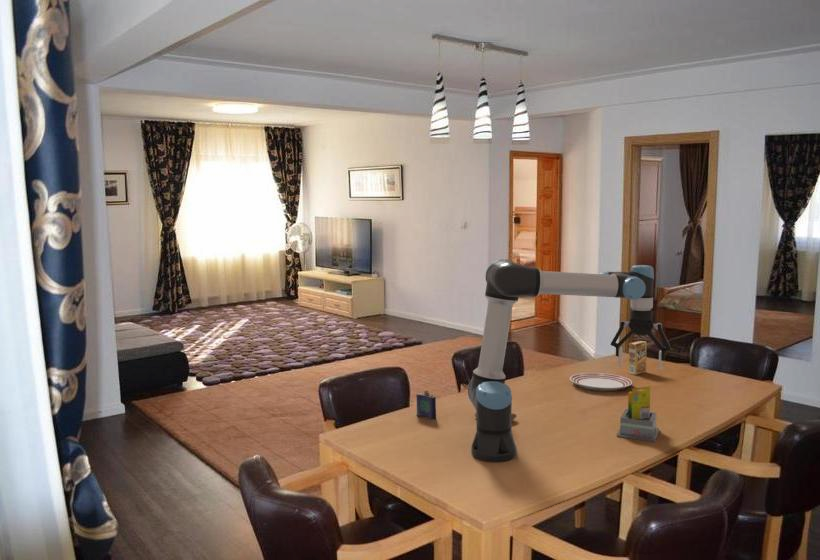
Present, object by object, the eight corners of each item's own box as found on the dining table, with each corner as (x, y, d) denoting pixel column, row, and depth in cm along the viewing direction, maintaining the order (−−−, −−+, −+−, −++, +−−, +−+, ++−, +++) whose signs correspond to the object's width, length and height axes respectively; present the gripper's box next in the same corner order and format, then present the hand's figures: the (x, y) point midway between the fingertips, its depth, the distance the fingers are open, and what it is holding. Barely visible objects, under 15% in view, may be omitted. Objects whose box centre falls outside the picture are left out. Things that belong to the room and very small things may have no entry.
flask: (415, 415, 258) (415, 389, 257) (419, 413, 260) (419, 387, 259) (433, 420, 252) (433, 393, 251) (438, 418, 255) (438, 391, 253)
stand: (655, 442, 226) (655, 423, 225) (616, 436, 232) (617, 418, 231) (659, 430, 237) (659, 412, 236) (622, 425, 243) (622, 407, 242)
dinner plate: (582, 375, 315) (582, 368, 314) (639, 383, 299) (640, 376, 298) (560, 388, 293) (560, 381, 292) (620, 398, 277) (620, 391, 276)
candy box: (635, 375, 313) (636, 344, 311) (627, 373, 316) (628, 342, 314) (646, 372, 318) (647, 341, 316) (638, 370, 321) (639, 340, 319)
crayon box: (645, 415, 236) (646, 384, 235) (650, 418, 233) (651, 386, 232) (627, 417, 234) (628, 386, 233) (631, 420, 232) (632, 388, 230)
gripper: (680, 309, 227) (678, 368, 229) (607, 305, 238) (605, 361, 240) (678, 312, 220) (676, 373, 223) (603, 308, 231) (602, 366, 234)
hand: (639, 367), depth 232 cm, fingers open, 13 cm apart
